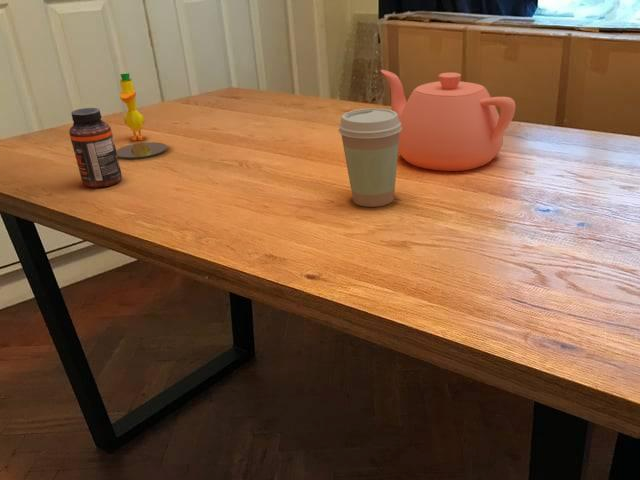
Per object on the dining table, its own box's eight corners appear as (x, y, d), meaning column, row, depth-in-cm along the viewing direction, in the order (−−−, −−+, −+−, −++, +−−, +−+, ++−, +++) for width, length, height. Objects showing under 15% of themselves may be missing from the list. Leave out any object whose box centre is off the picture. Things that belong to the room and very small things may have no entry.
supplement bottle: (77, 182, 104) (57, 111, 99) (113, 173, 108) (97, 103, 102) (91, 191, 101) (72, 117, 95) (129, 182, 104) (112, 109, 99)
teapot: (354, 157, 111) (349, 75, 105) (412, 133, 122) (411, 58, 116) (484, 184, 97) (487, 92, 91) (535, 155, 109) (542, 70, 102)
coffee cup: (395, 186, 98) (393, 105, 92) (410, 207, 91) (408, 120, 85) (339, 192, 97) (333, 110, 91) (348, 214, 89) (343, 126, 83)
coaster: (104, 155, 117) (103, 153, 117) (142, 142, 124) (142, 140, 124) (140, 162, 113) (139, 159, 113) (178, 147, 120) (177, 145, 120)
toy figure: (144, 143, 123) (130, 77, 117) (124, 145, 122) (109, 78, 117) (149, 133, 129) (136, 70, 123) (131, 135, 128) (116, 71, 122)
